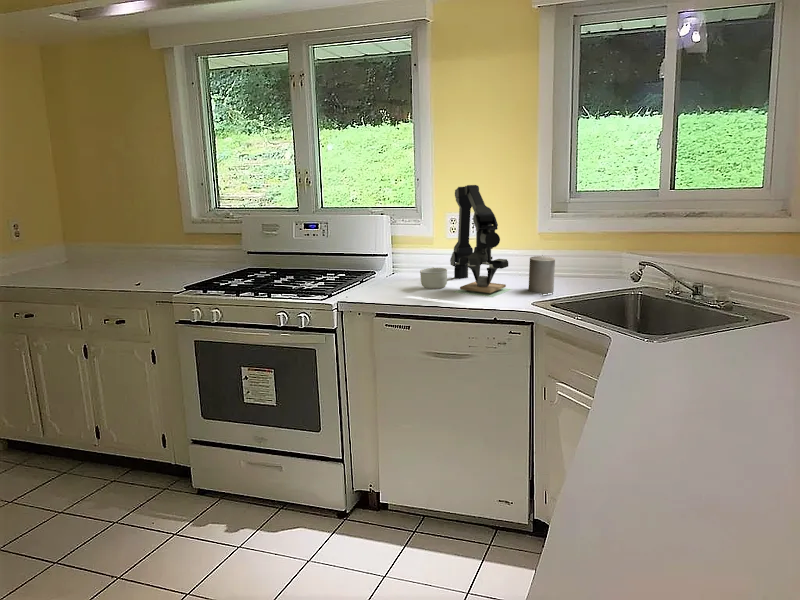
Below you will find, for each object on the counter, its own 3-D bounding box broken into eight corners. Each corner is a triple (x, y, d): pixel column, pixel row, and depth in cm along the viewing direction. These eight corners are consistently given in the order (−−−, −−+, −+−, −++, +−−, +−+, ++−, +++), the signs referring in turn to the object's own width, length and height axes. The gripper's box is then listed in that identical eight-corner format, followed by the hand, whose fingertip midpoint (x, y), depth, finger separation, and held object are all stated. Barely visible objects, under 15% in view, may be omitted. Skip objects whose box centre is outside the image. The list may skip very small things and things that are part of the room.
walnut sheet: (476, 283, 276) (476, 272, 275) (505, 287, 269) (505, 275, 268) (460, 289, 266) (460, 277, 265) (490, 293, 258) (490, 281, 257)
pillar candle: (523, 291, 269) (524, 253, 266) (544, 289, 273) (546, 252, 269) (537, 296, 261) (538, 257, 257) (559, 294, 264) (560, 255, 261)
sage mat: (474, 287, 279) (474, 284, 279) (512, 291, 270) (512, 289, 269) (452, 294, 266) (452, 292, 265) (492, 299, 256) (492, 297, 256)
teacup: (445, 292, 270) (445, 272, 268) (417, 291, 272) (417, 271, 270) (449, 285, 283) (449, 266, 282) (423, 284, 285) (423, 265, 284)
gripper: (451, 244, 262) (451, 285, 266) (496, 248, 252) (495, 290, 255) (466, 241, 271) (465, 280, 274) (509, 244, 261) (508, 285, 264)
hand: (483, 284), depth 267 cm, fingers closed on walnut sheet, 4 cm apart
